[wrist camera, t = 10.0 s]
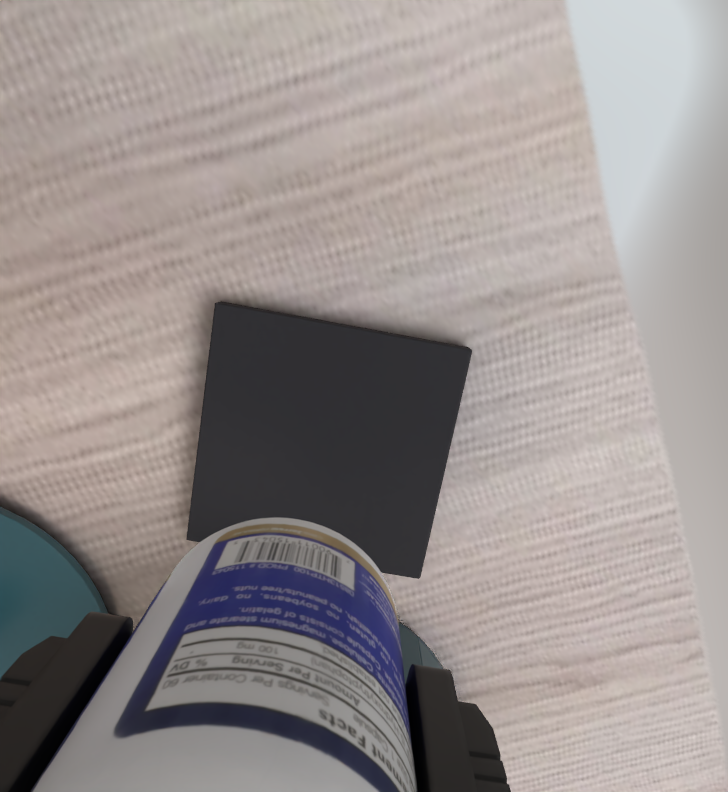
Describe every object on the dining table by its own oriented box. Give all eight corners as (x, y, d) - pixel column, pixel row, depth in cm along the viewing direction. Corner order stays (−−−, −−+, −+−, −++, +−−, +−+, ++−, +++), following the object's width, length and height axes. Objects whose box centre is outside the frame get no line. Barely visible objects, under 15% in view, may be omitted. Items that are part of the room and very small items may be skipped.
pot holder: (219, 301, 23) (214, 302, 22) (469, 347, 24) (472, 349, 23) (191, 532, 26) (185, 540, 25) (418, 570, 26) (420, 579, 25)
